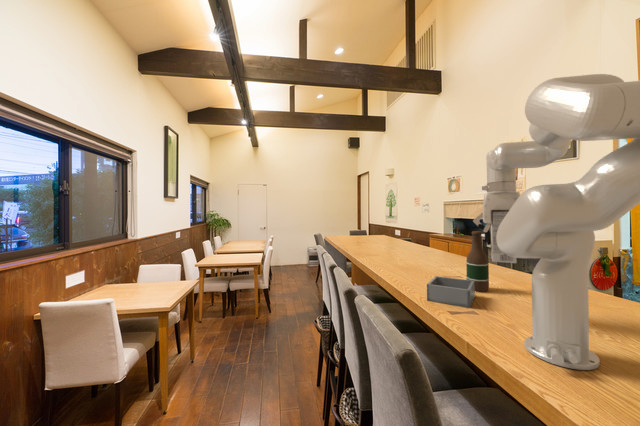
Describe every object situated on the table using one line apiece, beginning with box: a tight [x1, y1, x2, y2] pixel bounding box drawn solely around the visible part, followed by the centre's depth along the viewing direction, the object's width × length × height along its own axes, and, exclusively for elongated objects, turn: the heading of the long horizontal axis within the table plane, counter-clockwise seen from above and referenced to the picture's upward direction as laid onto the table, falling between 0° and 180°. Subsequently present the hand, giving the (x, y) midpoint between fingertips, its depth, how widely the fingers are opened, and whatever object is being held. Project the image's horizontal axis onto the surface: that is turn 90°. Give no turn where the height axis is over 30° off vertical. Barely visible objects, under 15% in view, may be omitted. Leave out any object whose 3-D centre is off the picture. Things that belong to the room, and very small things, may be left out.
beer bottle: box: [465, 230, 490, 293], centre depth 107 cm, size 8×8×24 cm
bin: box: [426, 275, 476, 309], centre depth 98 cm, size 14×14×6 cm
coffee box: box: [489, 210, 518, 264], centre depth 83 cm, size 9×6×16 cm
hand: (502, 244), depth 83 cm, fingers closed on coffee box, 6 cm apart
